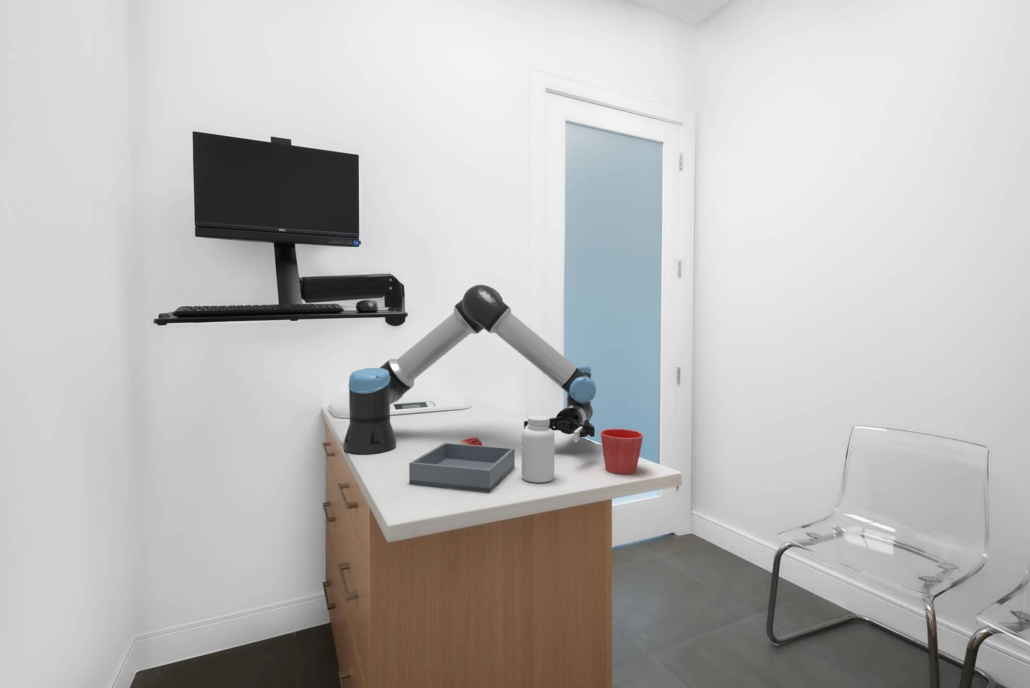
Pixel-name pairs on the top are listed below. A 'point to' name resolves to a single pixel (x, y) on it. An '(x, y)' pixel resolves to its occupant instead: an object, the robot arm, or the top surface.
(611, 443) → the flower pot
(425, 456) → the tray
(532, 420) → the pill bottle
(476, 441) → the ladybug figurine
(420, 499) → the top surface
